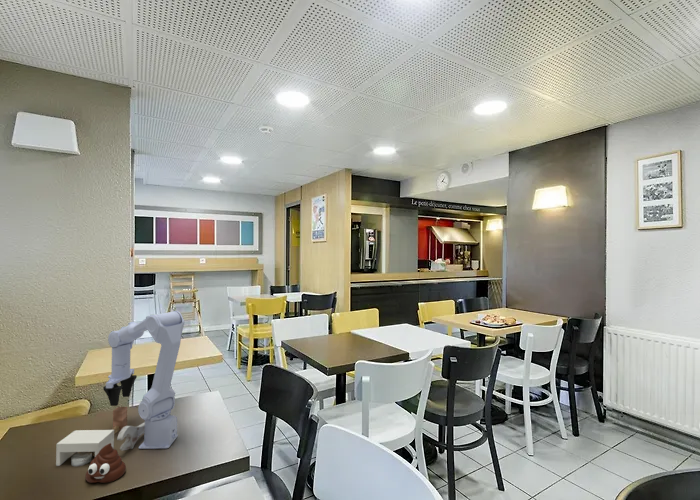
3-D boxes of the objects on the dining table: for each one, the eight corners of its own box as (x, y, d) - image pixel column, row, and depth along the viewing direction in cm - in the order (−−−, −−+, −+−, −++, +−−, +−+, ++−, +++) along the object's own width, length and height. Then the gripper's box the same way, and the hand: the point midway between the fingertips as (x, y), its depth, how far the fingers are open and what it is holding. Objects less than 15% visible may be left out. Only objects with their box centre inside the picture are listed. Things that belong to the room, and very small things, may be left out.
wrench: (170, 422, 141) (120, 457, 111) (165, 422, 141) (115, 457, 111) (171, 401, 142) (123, 430, 112) (166, 401, 142) (117, 430, 112)
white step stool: (113, 449, 116) (114, 429, 116) (98, 464, 108) (98, 443, 108) (74, 450, 116) (75, 430, 116) (56, 465, 108) (56, 443, 108)
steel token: (95, 457, 113) (95, 450, 113) (84, 466, 108) (84, 460, 108) (78, 457, 112) (78, 451, 112) (67, 467, 107) (67, 460, 107)
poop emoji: (131, 467, 108) (132, 436, 108) (114, 486, 99) (114, 452, 99) (97, 467, 107) (98, 436, 107) (76, 486, 99) (77, 452, 99)
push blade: (131, 425, 132) (131, 406, 132) (98, 455, 113) (98, 433, 113) (113, 425, 132) (114, 406, 132) (78, 455, 113) (78, 433, 113)
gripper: (120, 357, 137) (120, 392, 138) (96, 369, 123) (96, 409, 123) (140, 357, 138) (139, 392, 138) (118, 369, 123) (117, 409, 123)
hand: (120, 400), depth 131 cm, fingers open, 7 cm apart
